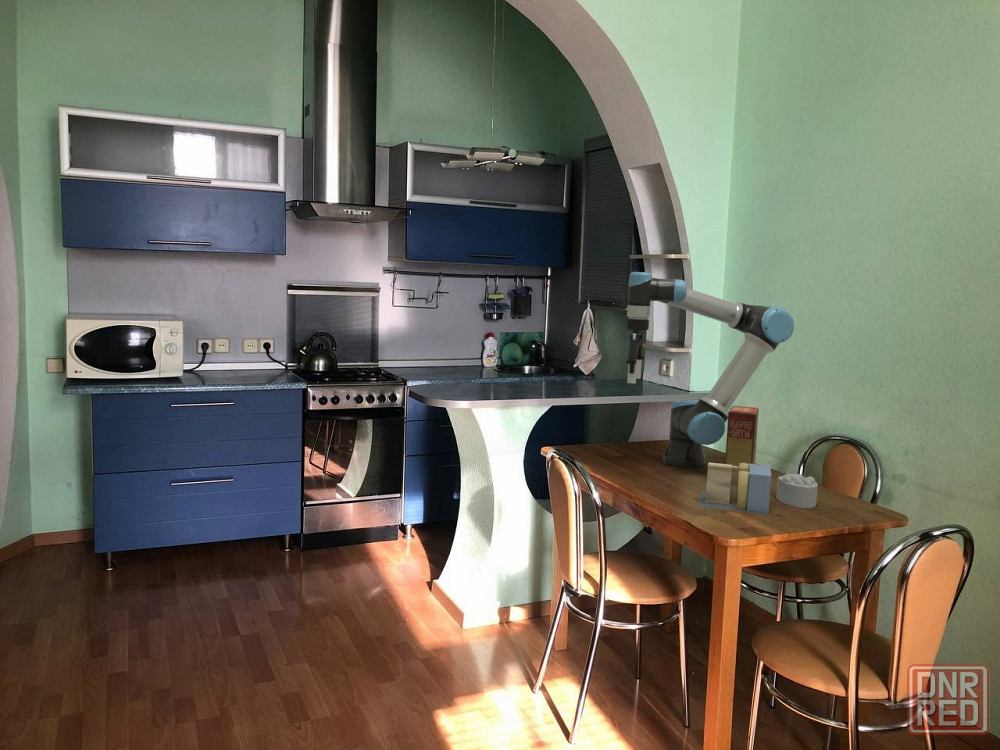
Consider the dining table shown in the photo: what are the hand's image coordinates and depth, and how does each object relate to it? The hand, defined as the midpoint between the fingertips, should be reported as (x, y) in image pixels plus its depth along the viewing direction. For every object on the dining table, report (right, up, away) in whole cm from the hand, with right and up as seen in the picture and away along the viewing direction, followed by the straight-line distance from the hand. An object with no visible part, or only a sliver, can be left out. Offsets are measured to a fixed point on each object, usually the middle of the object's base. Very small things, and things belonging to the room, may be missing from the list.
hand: (633, 380), depth 283 cm
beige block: (+23, -36, -31) cm, 53 cm away
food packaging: (+34, -34, -5) cm, 48 cm away
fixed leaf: (+30, -37, -33) cm, 58 cm away
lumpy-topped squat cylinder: (+46, -38, -27) cm, 65 cm away
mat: (+25, -37, -31) cm, 55 cm away
